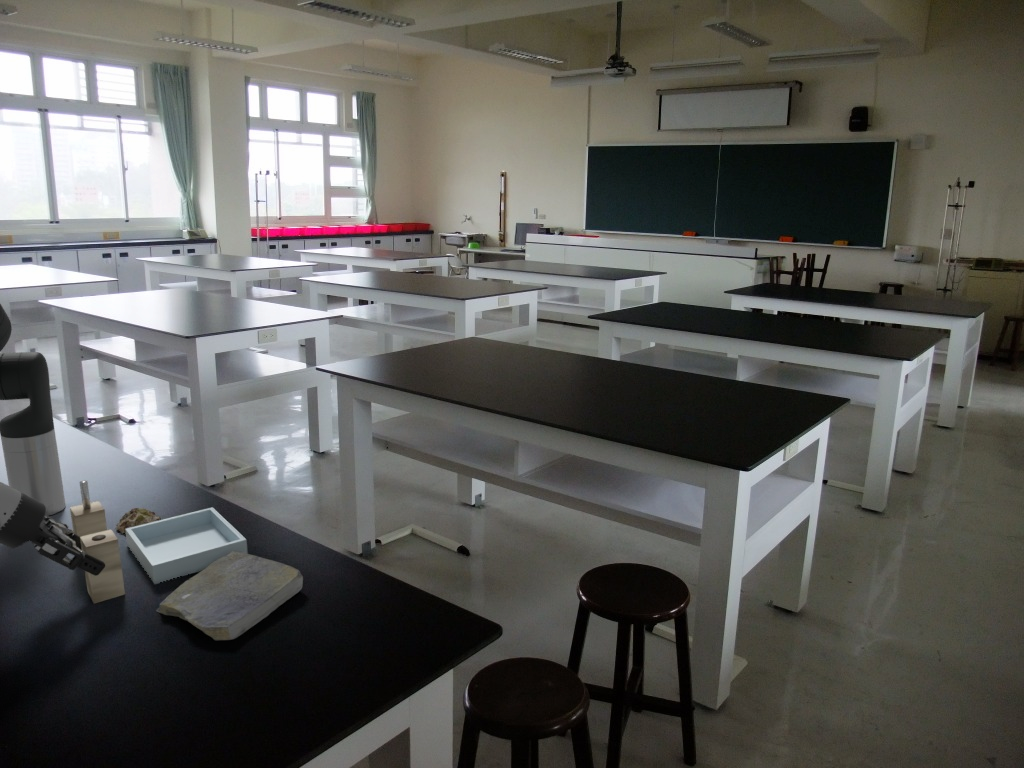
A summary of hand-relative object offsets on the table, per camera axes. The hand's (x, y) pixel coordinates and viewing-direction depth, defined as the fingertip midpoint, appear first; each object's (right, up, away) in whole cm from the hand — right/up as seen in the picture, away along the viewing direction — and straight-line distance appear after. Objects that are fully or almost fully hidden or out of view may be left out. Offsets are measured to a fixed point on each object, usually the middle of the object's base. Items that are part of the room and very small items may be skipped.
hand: (95, 559), depth 123 cm
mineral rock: (-6, 0, +26) cm, 27 cm away
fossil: (+22, -7, +1) cm, 23 cm away
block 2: (+1, -6, +2) cm, 7 cm away
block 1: (-8, -3, +13) cm, 16 cm away
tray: (+8, -2, +17) cm, 18 cm away
